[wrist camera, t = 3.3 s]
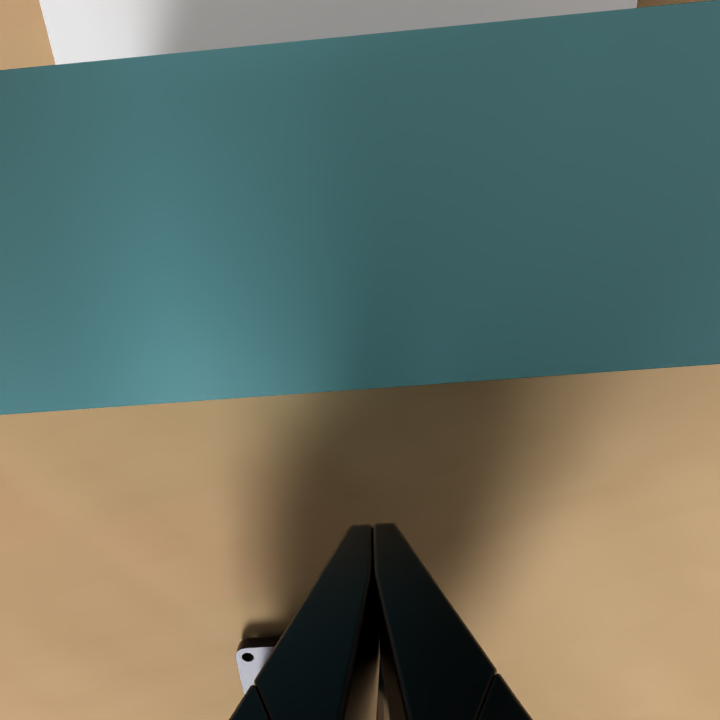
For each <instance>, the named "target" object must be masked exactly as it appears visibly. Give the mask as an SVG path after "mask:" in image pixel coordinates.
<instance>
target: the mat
mask: <svg viewBox="0 0 720 720" xmlns="http://www.w3.org/2000/svg"><path fill="white" fill-rule="evenodd" d="M39 1H40V5H41V9H42V13H43V17H44V21H45V25H46V29H47V32H48V36H49V40H50V44H51V48H52V52H53V56H54V60H55V64H56V65H59V64H70V63H80V62H90V61H100V60H110V59H121V58H131V57H141V56H151V55H161V54H172V53H182V52H192V51H202V50H212V49H223V48H233V47H243V46H253V45H263V44H274V43H284V42H294V41H304V40H314V39H325V38H335V37H345V36H355V35H365V34H376V33H386V32H396V31H406V30H416V29H426V28H437V27H447V26H457V25H467V24H477V23H488V22H498V21H508V20H518V19H528V18H539V17H549V16H559V15H569V14H579V13H590V12H600V11H610V10H620V9H630V8H637V0H39Z"/></svg>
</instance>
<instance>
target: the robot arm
mask: <svg viewBox="0 0 720 720" xmlns="http://www.w3.org/2000/svg"><path fill="white" fill-rule="evenodd" d="M236 661H237V665H238V670H239V674H240V678H241V683H242V687H243V691H244V697H243V698H242V700H241V702H240V703H239V705H238V706H237V708H236V710H235V711H234V713H233V714H232V716H231V717H230V719H229V720H533V719H532V718H531V717H530V715H529V714H528V713H527V711H526V710H525V708H524V707H523V706H522V704H521V703H520V702H519V700H518V699H517V698H516V696H515V695H514V693H513V692H512V690H511V689H510V688H509V686H508V685H507V683H506V682H505V680H504V679H503V678H502V676H501V675H500V674H497V670H496V668H495V666H494V665H493V664H492V662H491V661H490V659H489V658H488V656H487V655H486V654H485V652H484V651H483V649H482V648H481V646H480V645H479V644H478V642H477V641H476V639H475V638H474V636H473V635H472V634H471V632H470V631H469V629H468V628H467V626H466V625H465V624H464V622H463V621H462V619H461V618H460V616H459V615H458V613H457V612H456V611H455V609H454V608H453V606H452V605H451V603H450V602H449V601H448V599H447V598H446V596H445V595H444V593H443V592H442V591H441V589H440V588H439V586H438V585H437V583H436V582H435V581H434V579H433V578H432V576H431V575H430V573H429V572H428V571H427V569H426V568H425V566H424V565H423V563H422V562H421V560H420V559H419V558H418V556H417V555H416V553H415V552H414V550H413V549H412V548H411V546H410V545H409V543H408V542H407V540H406V539H405V538H404V536H403V535H402V533H401V532H400V530H399V529H398V528H397V526H396V525H395V524H394V523H377V524H374V525H373V528H372V526H371V525H370V524H360V525H352V526H350V527H349V529H348V530H347V532H346V533H345V535H344V537H343V538H342V540H341V542H340V543H339V545H338V546H337V548H336V550H335V551H334V553H333V554H332V556H331V558H330V559H329V561H328V562H327V564H326V566H325V567H324V569H323V570H322V572H321V574H320V575H319V577H318V578H317V580H316V582H315V583H314V585H313V586H312V588H311V590H310V591H309V593H308V594H307V596H306V598H305V599H304V601H303V602H302V604H301V606H300V607H299V609H298V611H297V612H296V614H295V615H294V617H293V619H292V620H291V622H290V623H289V625H288V627H287V628H286V630H285V631H284V633H283V635H282V636H281V637H277V638H257V639H246V640H243V641H241V642H240V644H239V646H238V649H237V652H236Z"/></svg>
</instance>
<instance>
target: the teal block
mask: <svg viewBox="0 0 720 720" xmlns="http://www.w3.org/2000/svg"><path fill="white" fill-rule="evenodd" d="M711 364H720V0H712V1H702V2H692V3H681V4H671V5H661V6H651V7H641V8H630V9H620V10H610V11H600V12H590V13H579V14H569V15H559V16H549V17H539V18H528V19H518V20H508V21H498V22H488V23H477V24H467V25H457V26H447V27H437V28H426V29H416V30H406V31H396V32H386V33H376V34H365V35H355V36H345V37H335V38H325V39H314V40H304V41H294V42H284V43H274V44H263V45H253V46H243V47H233V48H223V49H212V50H202V51H192V52H182V53H172V54H161V55H151V56H141V57H131V58H121V59H110V60H100V61H90V62H80V63H70V64H59V65H49V66H39V67H29V68H19V69H8V70H0V415H4V414H18V413H32V412H46V411H60V410H75V409H89V408H103V407H117V406H131V405H145V404H159V403H174V402H188V401H202V400H216V399H230V398H244V397H258V396H273V395H287V394H301V393H315V392H329V391H343V390H357V389H372V388H386V387H400V386H414V385H428V384H442V383H456V382H470V381H485V380H499V379H513V378H527V377H541V376H555V375H569V374H584V373H598V372H612V371H626V370H640V369H654V368H668V367H683V366H697V365H711Z"/></svg>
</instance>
